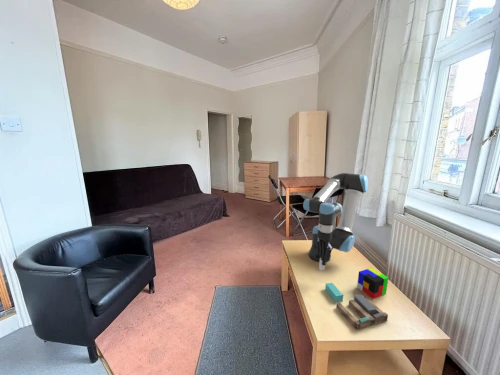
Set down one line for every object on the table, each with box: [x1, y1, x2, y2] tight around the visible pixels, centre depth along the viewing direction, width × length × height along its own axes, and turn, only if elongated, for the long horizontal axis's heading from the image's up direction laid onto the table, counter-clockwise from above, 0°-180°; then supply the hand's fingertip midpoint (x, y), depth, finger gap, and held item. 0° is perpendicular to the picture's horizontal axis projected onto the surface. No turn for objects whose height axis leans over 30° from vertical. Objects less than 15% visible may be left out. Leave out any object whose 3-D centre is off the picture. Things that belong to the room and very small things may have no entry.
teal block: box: [324, 282, 344, 303], centre depth 111 cm, size 10×4×4 cm, turn 11°
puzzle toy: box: [356, 267, 389, 300], centre depth 114 cm, size 10×10×10 cm
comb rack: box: [335, 296, 389, 331], centre depth 99 cm, size 13×18×4 cm
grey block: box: [353, 294, 376, 316], centre depth 102 cm, size 10×4×4 cm, turn 11°
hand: (321, 269), depth 120 cm, fingers closed
